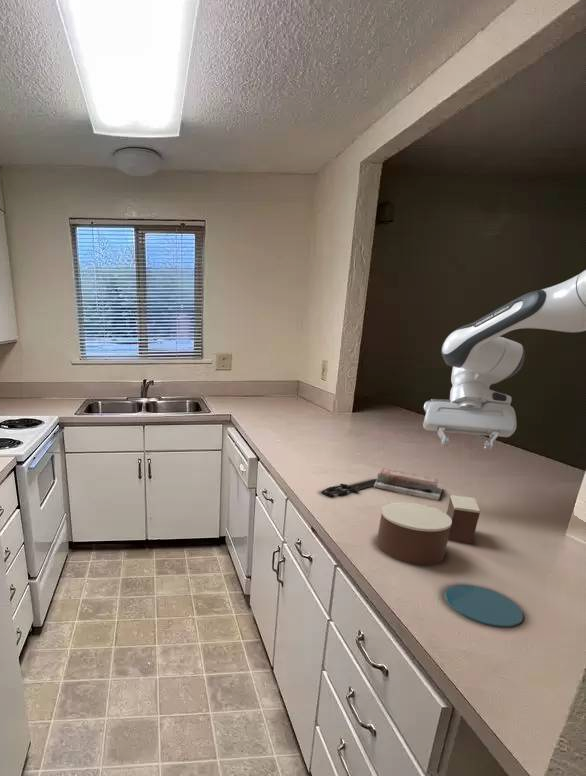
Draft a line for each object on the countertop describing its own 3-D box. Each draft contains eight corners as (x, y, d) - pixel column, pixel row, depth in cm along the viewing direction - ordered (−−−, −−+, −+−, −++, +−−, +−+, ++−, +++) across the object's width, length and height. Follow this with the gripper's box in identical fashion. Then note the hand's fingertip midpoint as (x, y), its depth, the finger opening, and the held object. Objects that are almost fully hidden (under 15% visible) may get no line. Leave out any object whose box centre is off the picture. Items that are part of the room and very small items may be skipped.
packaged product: (375, 473, 133) (382, 464, 141) (373, 487, 135) (379, 478, 143) (442, 486, 124) (445, 476, 131) (438, 501, 125) (442, 491, 133)
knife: (379, 480, 142) (379, 476, 142) (394, 487, 137) (395, 483, 136) (316, 492, 134) (317, 487, 133) (330, 499, 128) (331, 495, 127)
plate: (512, 597, 83) (513, 593, 83) (530, 636, 73) (531, 632, 73) (441, 582, 88) (442, 579, 88) (448, 618, 78) (449, 614, 77)
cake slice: (466, 530, 109) (474, 497, 106) (471, 545, 102) (480, 510, 99) (443, 527, 111) (450, 494, 108) (447, 541, 104) (455, 507, 101)
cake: (440, 542, 104) (448, 507, 100) (447, 571, 92) (456, 534, 89) (376, 531, 109) (382, 498, 106) (375, 558, 97) (381, 522, 94)
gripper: (426, 391, 116) (422, 435, 111) (519, 396, 108) (518, 444, 104) (422, 405, 122) (418, 447, 117) (510, 410, 114) (509, 456, 109)
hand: (466, 446), depth 110 cm, fingers open, 8 cm apart
